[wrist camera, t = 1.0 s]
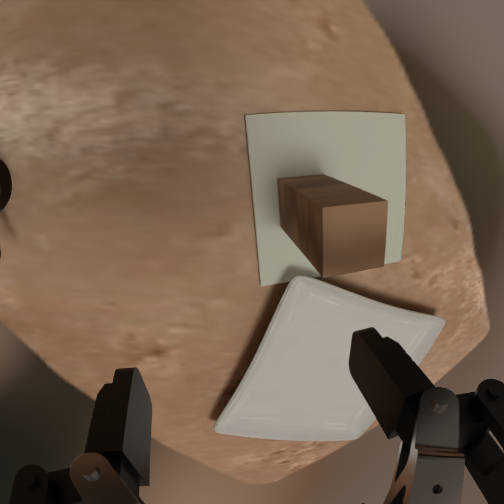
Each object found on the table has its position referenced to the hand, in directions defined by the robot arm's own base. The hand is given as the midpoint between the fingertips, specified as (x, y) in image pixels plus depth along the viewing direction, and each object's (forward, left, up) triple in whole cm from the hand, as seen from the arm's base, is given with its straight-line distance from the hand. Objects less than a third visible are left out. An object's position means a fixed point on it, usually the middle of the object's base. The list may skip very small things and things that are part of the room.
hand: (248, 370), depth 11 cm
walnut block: (0, +9, -22) cm, 24 cm away
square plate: (+25, +13, -23) cm, 37 cm away
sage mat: (0, +13, -23) cm, 26 cm away
